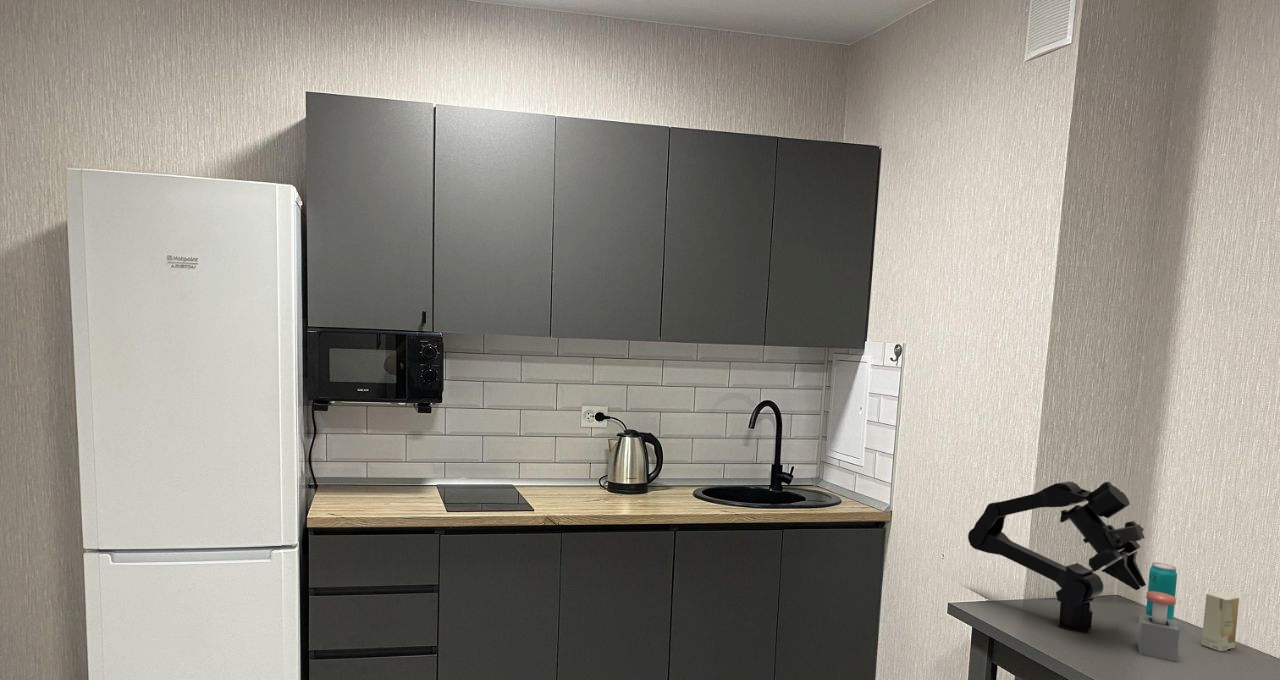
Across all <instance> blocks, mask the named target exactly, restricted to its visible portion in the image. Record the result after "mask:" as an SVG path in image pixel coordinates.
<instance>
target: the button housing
mask: <svg viewBox="0 0 1280 680" xmlns="http://www.w3.org/2000/svg"><path fill="white" fill-rule="evenodd" d="M1151 621H1152V616H1149V615H1146V614H1143V613H1138V626H1137V627H1138V628H1137V637H1136V645H1137V649H1138V653H1140V655H1144V656H1149V657H1153V658H1159V659H1163V660H1168V661H1172V662H1176V663H1177V661H1178V652H1179V650H1178V649H1179V641H1180V639H1179V638H1180V629H1179V626H1178V624H1177V621H1176V620H1174V619H1173V620H1169V619H1167V621H1166V625H1162V624H1157V623H1152V622H1151Z"/></svg>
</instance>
